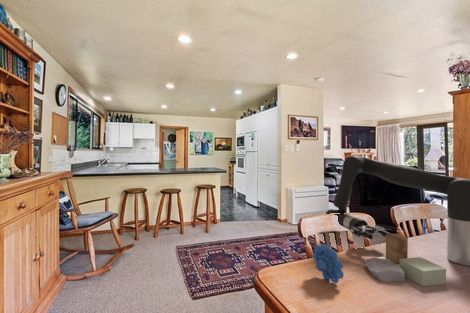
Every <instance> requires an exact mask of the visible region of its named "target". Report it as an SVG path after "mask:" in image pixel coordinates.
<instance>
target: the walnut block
mask: <svg viewBox="0 0 470 313" xmlns="http://www.w3.org/2000/svg"><path fill="white" fill-rule="evenodd" d="M408 241H409V239H408V237H406V236H404V235H401V234H400V233H390V234H386V237H385V257H386V259H389V260H390V261H391V262H392V263H394V264H395V265H400V259H404V258H409V257H408V256H409V255H408V247H409V246H408V243H409V242H408Z"/></svg>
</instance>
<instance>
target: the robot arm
mask: <svg viewBox="0 0 470 313" xmlns="http://www.w3.org/2000/svg"><path fill="white" fill-rule="evenodd" d="M341 170H342V171H341V175H340V181H339V185H338V187H337V191H336V193H335V196H334V199H333V201H332V202H333V205H334V207H336V208H337V209H333V208H331V209H328V210H327V211H326V212H325V215H326V214H330V213H340V214H335V215H337V216H338V222H339V224H340V225H339V226H341V227H343V228H345V229H346V230H348V231H349V232H350V233H351V234H352V235H354V236H356V237H361V236H362V238H363V237H364V238H367V239H369V240H373V236H383V237H384V238H386V234H391V233H390V232H388V231H387V229H386V228H384V227H381V226H379V225H374V226H372V225H370V224H368V222H367V221H366V220H364V219H362V218H359V217H357V216H354V215H351V214H348V213H347V210H348V204H349V201H350V199H351V195H352V188H353V183H354V181H355V179H356V176H357V175H358V173H364V174H369V175H372V176H376V177H378V178H380V179H383V180H384V181H387V182H389V183H391V184H392V183H393V184H394V185H398V186H403V187H408V188H413V189H418V190H419V189H421V190H428V191H432V192H433V191H434V192H436V193H437V192H438V193H441V194H444V195H446V197H447V198H446V199H447V202H446V203H447V204H446V205H447V206H446V208H447V209H446V210H447V228H446V229H447V230H446V231H447V238H446V240H447V242H446V244H447V246H446V250H447V251H446V258H447V259H448V260H449V261H450V262H453V263H454V264H457V265H461V266H462V265H463V266H466V267H470V179H469V178H465V177H456V176H455V177H454V176H448V175H442V174H437V173H434V172H430V171H427V170H424V169H420V168H417V167H412V166H409V165H408V166H407V165H404V164H400V163H399V164H397V163H392V162H384V161H378V160H374V159H371V158H368V157H365V156H362V155H358V154H356V155H355V154H354V155H350V156H348V157H346V158H345V159H344V161H343V163H342V169H341ZM344 213H346V214H344Z"/></svg>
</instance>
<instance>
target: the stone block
mask: <svg viewBox="0 0 470 313" xmlns="http://www.w3.org/2000/svg"><path fill="white" fill-rule="evenodd" d="M364 264H365V265H366V266H367V268H368V271H369V272H370V274H371V276H373V277H374V279H377V280H379V281H380V282H388V283H390V282H393V283H394V282H397V283H399V282H405V280H406V279H405V278H406V276H405V273H404V271H403V270H402V268H401V267H399V266H397V265H394V264H393V263H392V262H391V261H390V260H389V259H381V258H377V257H370V258H367V259H365V260H364Z"/></svg>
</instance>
